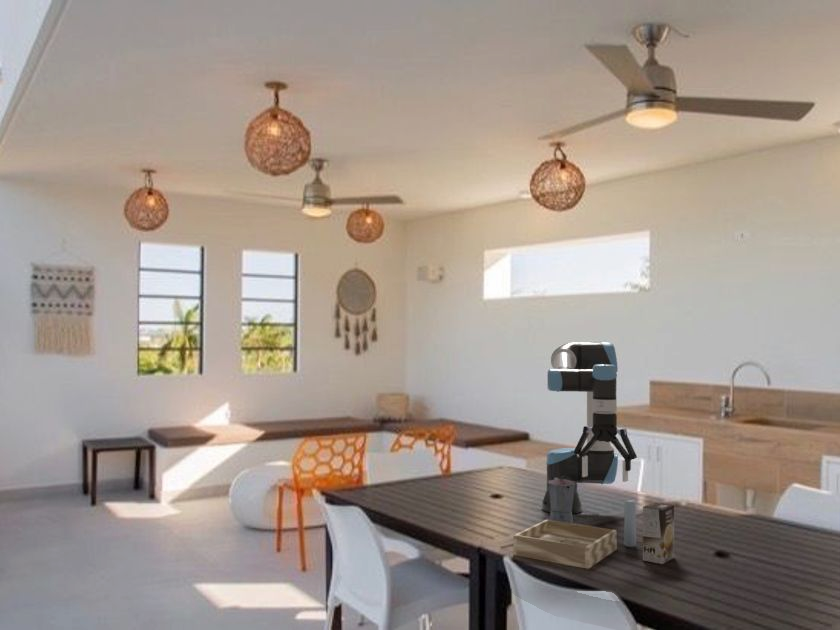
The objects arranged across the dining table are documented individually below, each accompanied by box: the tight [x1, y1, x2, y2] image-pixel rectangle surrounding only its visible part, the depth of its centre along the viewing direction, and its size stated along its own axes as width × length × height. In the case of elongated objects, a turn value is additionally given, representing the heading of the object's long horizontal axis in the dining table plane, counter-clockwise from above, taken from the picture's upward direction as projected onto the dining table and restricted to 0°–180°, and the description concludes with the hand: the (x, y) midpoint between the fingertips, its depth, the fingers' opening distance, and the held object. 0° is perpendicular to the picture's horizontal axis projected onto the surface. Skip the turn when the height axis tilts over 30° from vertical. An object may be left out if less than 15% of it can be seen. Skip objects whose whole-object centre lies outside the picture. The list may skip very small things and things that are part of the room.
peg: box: [623, 499, 637, 548], centre depth 243 cm, size 4×4×14 cm
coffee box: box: [642, 502, 675, 565], centre depth 228 cm, size 9×6×16 cm
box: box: [512, 519, 618, 570], centre depth 235 cm, size 24×24×6 cm
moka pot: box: [548, 474, 575, 524], centre depth 259 cm, size 10×15×20 cm, turn 15°
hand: (604, 478), depth 243 cm, fingers open, 13 cm apart
